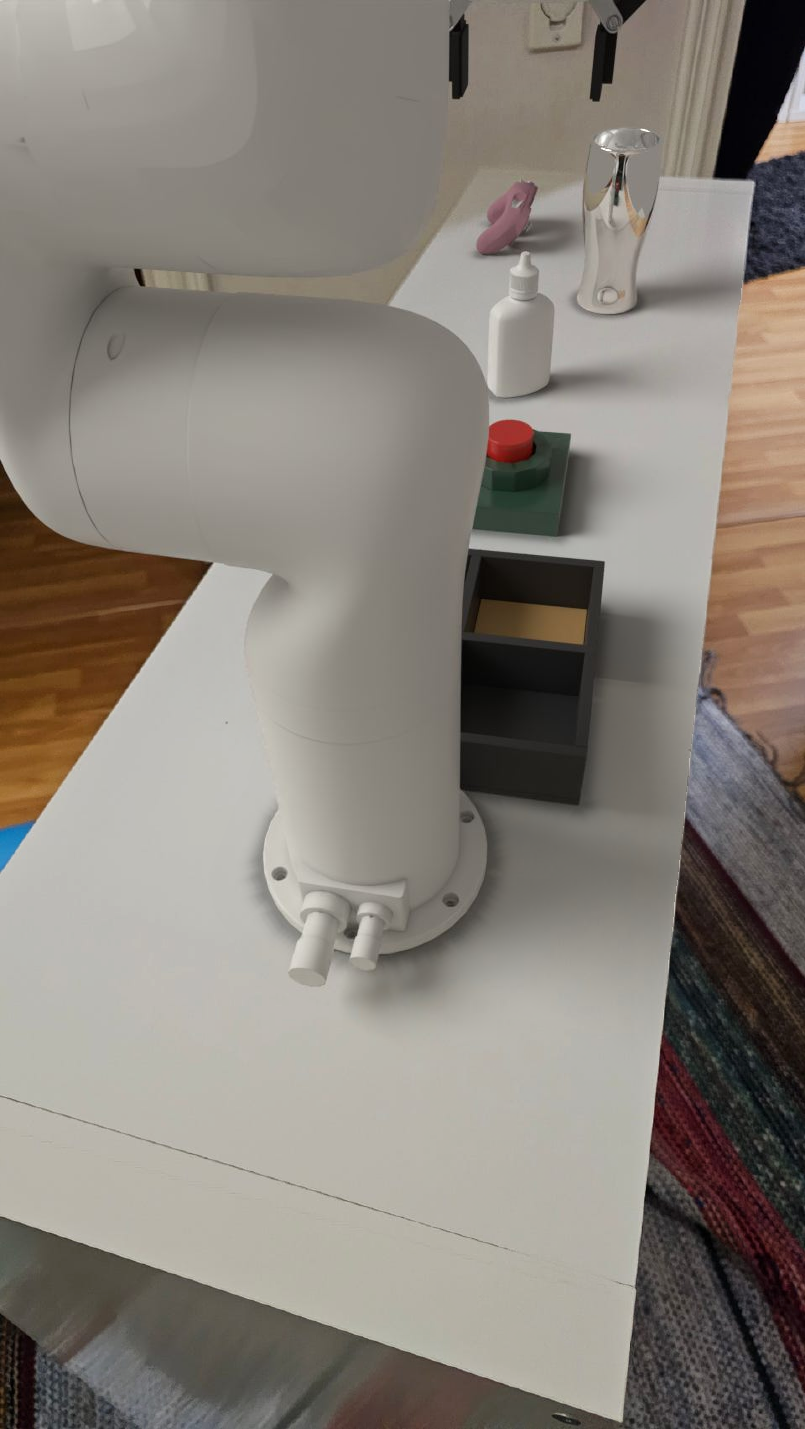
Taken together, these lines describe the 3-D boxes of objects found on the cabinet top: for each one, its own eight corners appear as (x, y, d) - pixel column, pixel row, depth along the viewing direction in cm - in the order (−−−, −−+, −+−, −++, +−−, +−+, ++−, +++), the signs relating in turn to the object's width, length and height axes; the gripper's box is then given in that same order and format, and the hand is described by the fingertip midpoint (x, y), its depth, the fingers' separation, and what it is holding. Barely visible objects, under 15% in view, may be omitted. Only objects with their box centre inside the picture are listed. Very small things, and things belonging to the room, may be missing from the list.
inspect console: (557, 537, 73) (561, 493, 70) (440, 527, 75) (440, 483, 72) (568, 456, 80) (573, 413, 77) (462, 448, 82) (462, 405, 79)
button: (529, 466, 73) (531, 446, 72) (482, 463, 74) (483, 443, 73) (534, 440, 76) (536, 420, 74) (489, 437, 76) (490, 417, 75)
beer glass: (621, 281, 101) (642, 121, 90) (653, 309, 97) (679, 145, 86) (561, 293, 100) (575, 132, 89) (590, 322, 96) (609, 157, 84)
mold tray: (578, 806, 56) (587, 756, 53) (299, 768, 59) (289, 719, 56) (597, 611, 67) (605, 560, 64) (361, 587, 70) (356, 537, 67)
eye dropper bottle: (488, 374, 90) (492, 242, 81) (549, 375, 89) (560, 242, 80) (485, 399, 87) (489, 264, 78) (548, 400, 86) (559, 265, 77)
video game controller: (507, 272, 107) (539, 214, 102) (471, 251, 106) (502, 192, 101) (518, 235, 114) (548, 179, 108) (484, 216, 113) (513, 158, 108)
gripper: (383, -233, 54) (397, 110, 67) (698, -245, 51) (650, 115, 64) (408, -247, 59) (417, 76, 72) (698, -259, 56) (653, 79, 69)
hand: (527, 94), depth 68 cm, fingers open, 9 cm apart
